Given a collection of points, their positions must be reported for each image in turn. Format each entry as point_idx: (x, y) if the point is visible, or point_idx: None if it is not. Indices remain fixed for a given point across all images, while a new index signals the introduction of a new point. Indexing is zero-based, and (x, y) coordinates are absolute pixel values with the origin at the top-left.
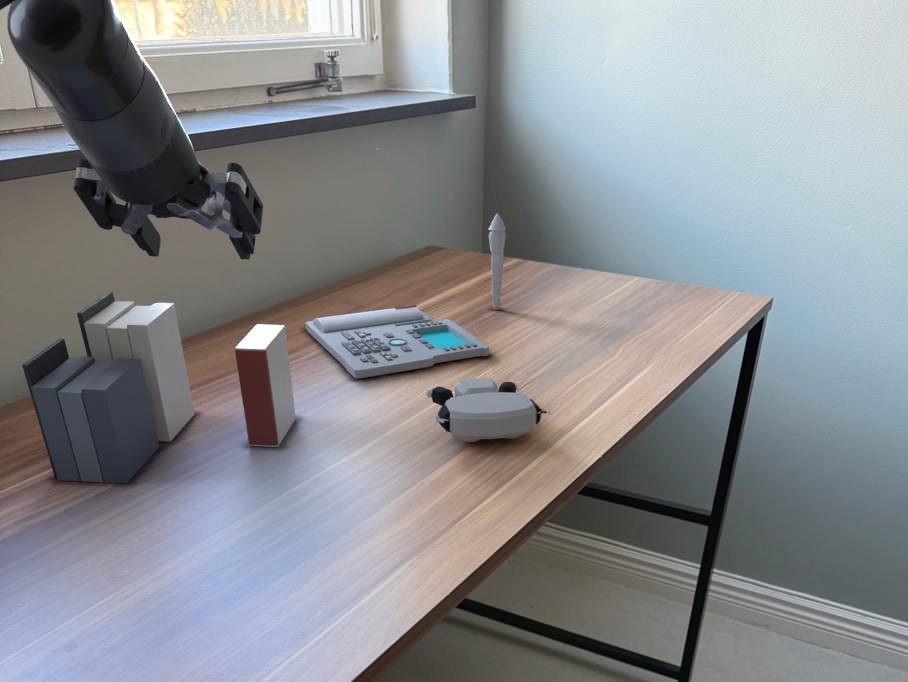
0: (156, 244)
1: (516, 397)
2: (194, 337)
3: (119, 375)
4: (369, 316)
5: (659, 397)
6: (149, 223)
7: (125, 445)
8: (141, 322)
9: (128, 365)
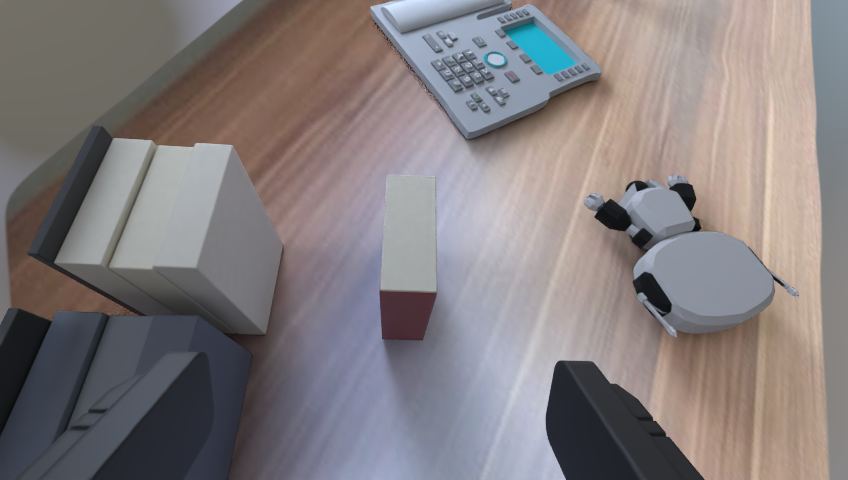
0: (197, 411)
1: (736, 251)
2: (239, 33)
3: None
4: (448, 4)
5: (814, 171)
6: (136, 449)
7: (210, 468)
8: (183, 252)
9: None
